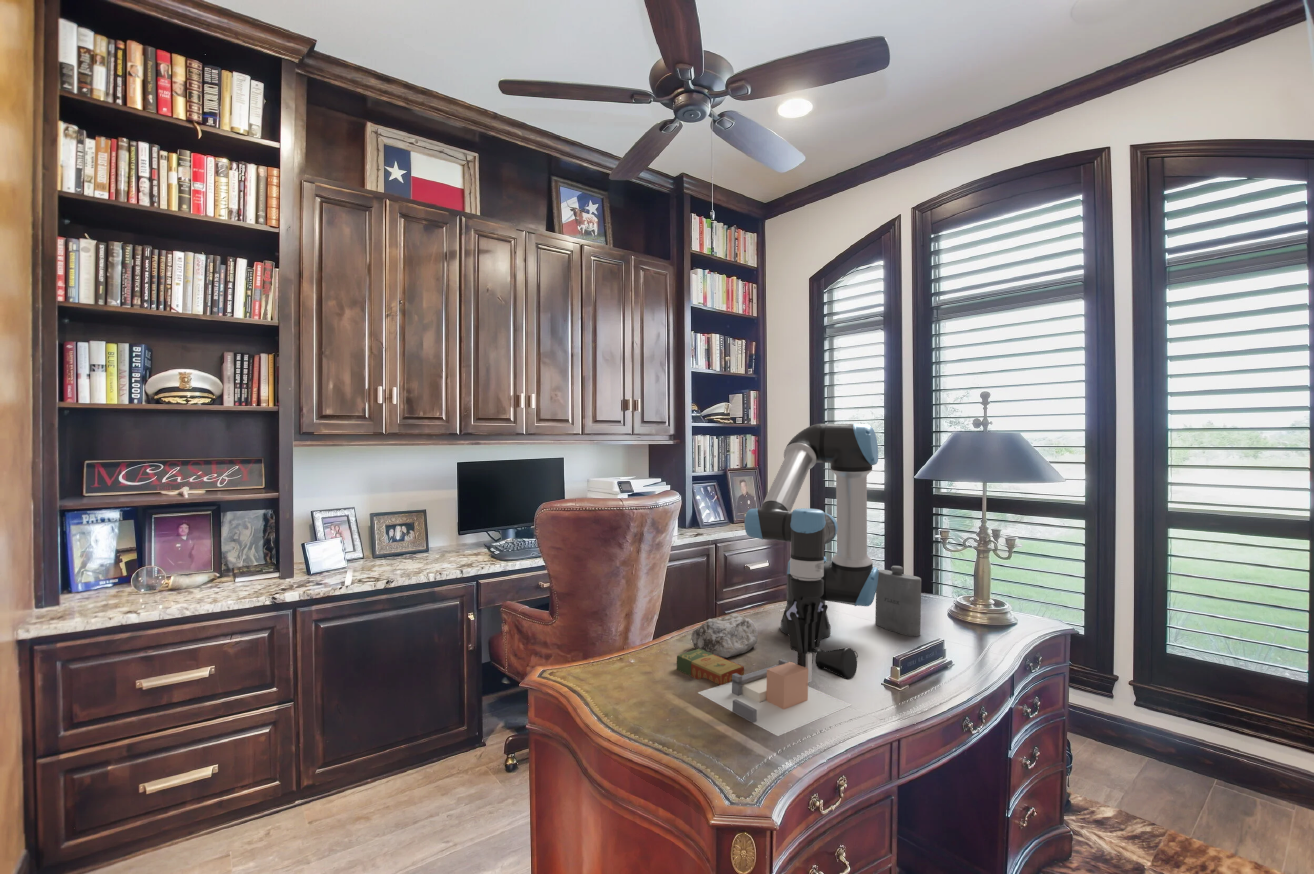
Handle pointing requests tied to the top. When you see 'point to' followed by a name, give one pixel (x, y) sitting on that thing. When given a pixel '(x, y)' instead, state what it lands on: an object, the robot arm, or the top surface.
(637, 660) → the top surface
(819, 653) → the black tapered cylinder
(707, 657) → the carton
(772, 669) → the block
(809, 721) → the board
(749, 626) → the decorative stone
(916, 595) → the flask
